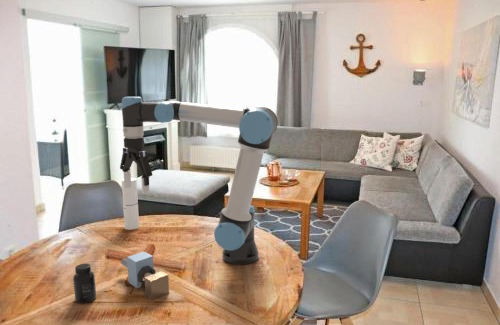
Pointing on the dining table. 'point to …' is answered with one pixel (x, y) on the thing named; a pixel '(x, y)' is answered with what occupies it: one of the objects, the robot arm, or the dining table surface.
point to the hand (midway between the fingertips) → (136, 190)
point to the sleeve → (138, 266)
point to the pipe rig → (153, 283)
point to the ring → (143, 270)
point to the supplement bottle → (84, 284)
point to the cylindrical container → (130, 205)
